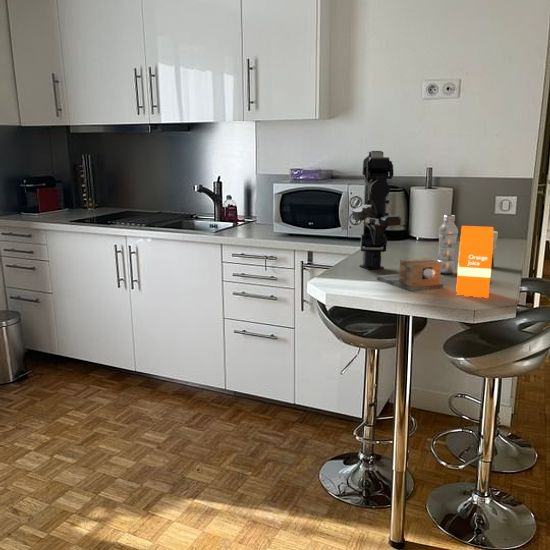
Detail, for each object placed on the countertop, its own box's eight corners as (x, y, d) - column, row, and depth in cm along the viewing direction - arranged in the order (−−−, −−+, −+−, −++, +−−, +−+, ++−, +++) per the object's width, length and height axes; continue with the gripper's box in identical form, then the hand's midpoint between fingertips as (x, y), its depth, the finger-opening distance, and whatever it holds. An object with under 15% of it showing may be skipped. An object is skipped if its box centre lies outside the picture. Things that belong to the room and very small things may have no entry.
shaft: (401, 276, 174) (402, 260, 172) (414, 274, 176) (415, 258, 175) (425, 284, 163) (426, 267, 162) (439, 282, 165) (440, 265, 164)
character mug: (500, 269, 196) (504, 233, 193) (481, 269, 195) (484, 233, 192) (487, 263, 206) (490, 229, 203) (468, 263, 206) (471, 229, 203)
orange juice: (455, 289, 167) (461, 224, 163) (486, 291, 165) (492, 225, 160) (456, 295, 160) (461, 227, 156) (488, 298, 157) (495, 228, 153)
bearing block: (376, 279, 180) (377, 255, 178) (406, 275, 185) (407, 252, 183) (411, 291, 164) (413, 265, 162) (442, 287, 169) (444, 262, 167)
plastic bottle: (450, 271, 193) (455, 214, 188) (457, 275, 186) (462, 216, 182) (432, 271, 193) (436, 214, 188) (439, 275, 186) (443, 216, 182)
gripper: (341, 195, 182) (339, 241, 186) (373, 199, 166) (371, 250, 169) (369, 194, 187) (367, 239, 190) (403, 198, 170) (400, 248, 174)
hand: (375, 244), depth 181 cm, fingers closed
